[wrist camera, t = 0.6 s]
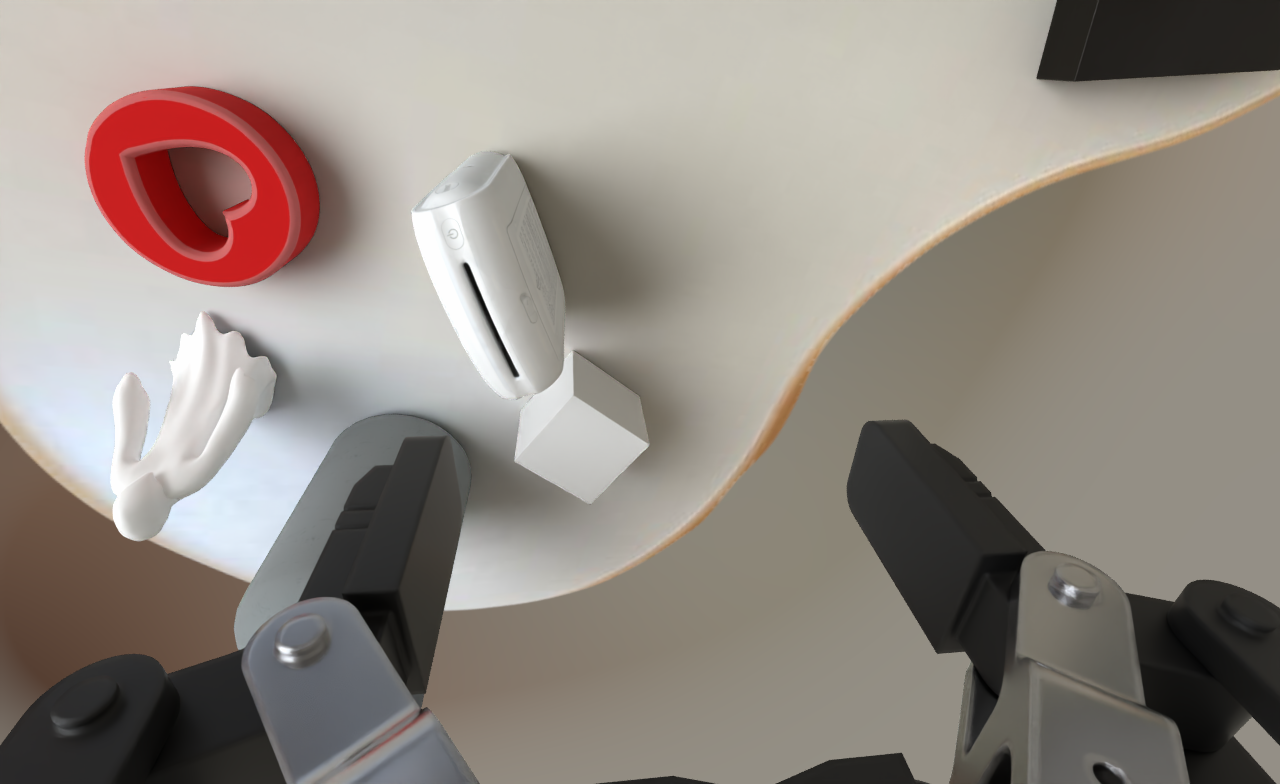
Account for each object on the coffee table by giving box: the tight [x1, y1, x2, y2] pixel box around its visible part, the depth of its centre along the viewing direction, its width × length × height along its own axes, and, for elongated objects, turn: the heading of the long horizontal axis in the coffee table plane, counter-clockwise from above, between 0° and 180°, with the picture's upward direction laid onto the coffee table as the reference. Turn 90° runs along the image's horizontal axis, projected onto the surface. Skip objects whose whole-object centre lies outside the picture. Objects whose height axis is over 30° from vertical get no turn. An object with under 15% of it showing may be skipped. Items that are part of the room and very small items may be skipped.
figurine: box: [111, 312, 277, 541], centre depth 32 cm, size 8×8×12 cm
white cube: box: [514, 350, 650, 504], centre depth 39 cm, size 6×6×6 cm
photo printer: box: [411, 151, 565, 400], centre depth 30 cm, size 10×4×12 cm, turn 15°
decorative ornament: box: [85, 86, 320, 287], centre depth 31 cm, size 10×10×3 cm
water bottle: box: [234, 414, 471, 708], centre depth 31 cm, size 10×10×28 cm
